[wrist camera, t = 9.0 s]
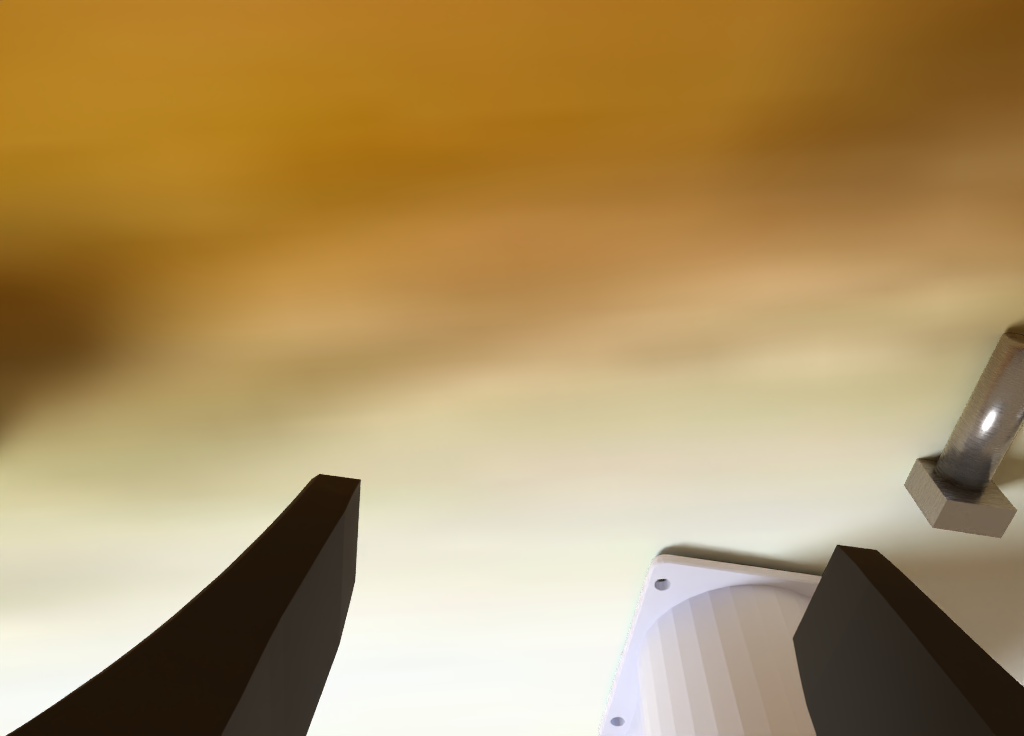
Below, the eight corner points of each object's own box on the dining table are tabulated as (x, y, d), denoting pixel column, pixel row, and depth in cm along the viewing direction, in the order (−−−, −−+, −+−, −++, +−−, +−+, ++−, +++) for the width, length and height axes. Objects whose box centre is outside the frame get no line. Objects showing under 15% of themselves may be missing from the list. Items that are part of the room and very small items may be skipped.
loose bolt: (967, 494, 23) (1001, 537, 21) (903, 484, 23) (932, 527, 21) (1052, 339, 20) (1098, 373, 19) (981, 328, 20) (1020, 362, 19)
